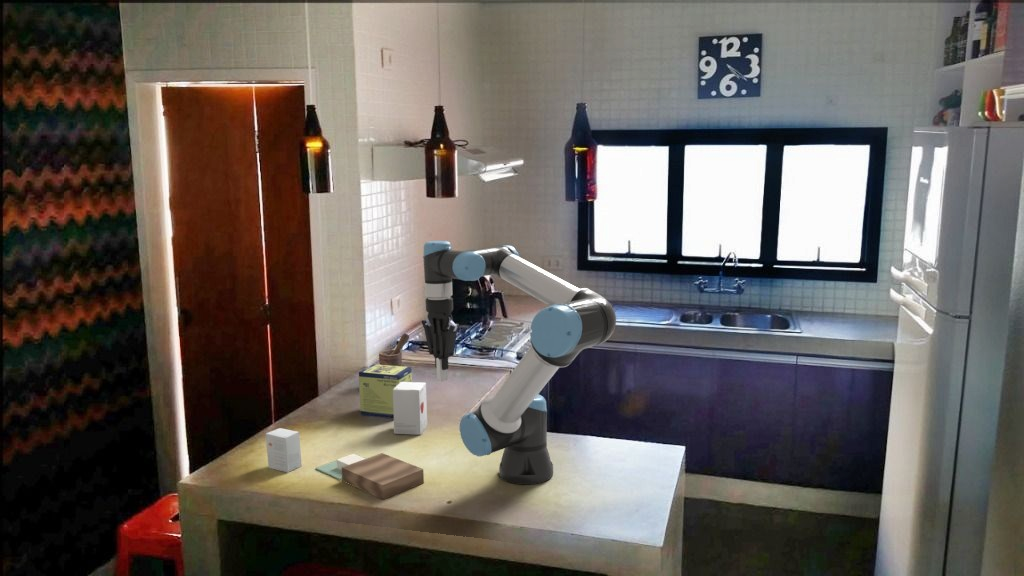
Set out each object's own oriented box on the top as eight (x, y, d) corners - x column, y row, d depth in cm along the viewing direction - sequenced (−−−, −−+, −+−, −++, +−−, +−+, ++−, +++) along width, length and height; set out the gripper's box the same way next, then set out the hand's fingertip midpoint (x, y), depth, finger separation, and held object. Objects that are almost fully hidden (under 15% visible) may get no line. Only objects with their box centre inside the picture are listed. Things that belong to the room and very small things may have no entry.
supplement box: (420, 435, 261) (419, 390, 258) (393, 434, 262) (391, 389, 260) (428, 425, 270) (426, 381, 267) (401, 424, 271) (400, 381, 268)
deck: (423, 482, 224) (423, 469, 224) (383, 499, 214) (382, 485, 214) (382, 466, 237) (382, 452, 236) (342, 481, 226) (341, 467, 226)
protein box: (401, 419, 276) (399, 374, 274) (359, 415, 281) (357, 371, 278) (414, 409, 286) (412, 366, 283) (373, 406, 291) (371, 363, 288)
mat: (380, 465, 237) (380, 463, 237) (340, 480, 227) (340, 478, 227) (355, 455, 245) (355, 453, 245) (315, 469, 235) (315, 467, 235)
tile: (371, 468, 234) (370, 460, 233) (353, 475, 229) (353, 466, 229) (354, 461, 239) (353, 453, 239) (336, 467, 235) (336, 459, 234)
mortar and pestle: (401, 379, 323) (399, 329, 320) (413, 383, 317) (412, 333, 313) (376, 385, 316) (373, 334, 312) (388, 390, 309) (386, 338, 306)
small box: (302, 466, 237) (299, 431, 236) (287, 473, 233) (285, 437, 231) (282, 461, 241) (279, 427, 240) (267, 468, 237) (265, 433, 235)
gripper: (465, 297, 224) (468, 381, 228) (432, 292, 232) (436, 373, 236) (445, 301, 218) (448, 387, 222) (412, 296, 227) (416, 379, 231)
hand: (442, 380), depth 229 cm, fingers closed
